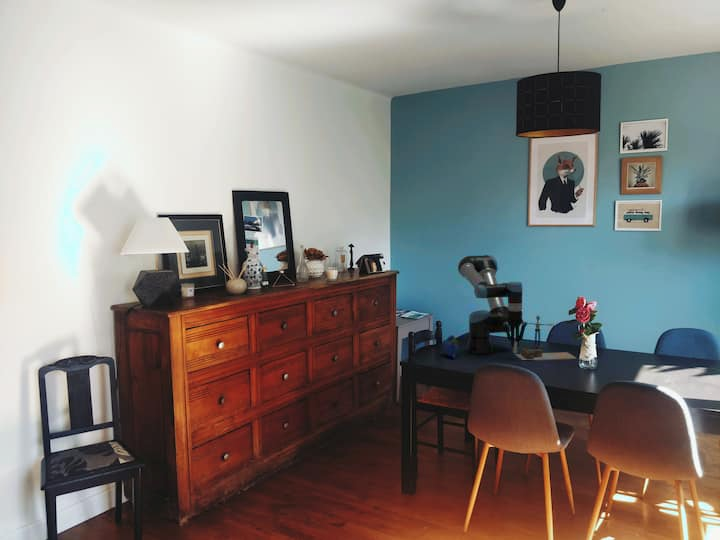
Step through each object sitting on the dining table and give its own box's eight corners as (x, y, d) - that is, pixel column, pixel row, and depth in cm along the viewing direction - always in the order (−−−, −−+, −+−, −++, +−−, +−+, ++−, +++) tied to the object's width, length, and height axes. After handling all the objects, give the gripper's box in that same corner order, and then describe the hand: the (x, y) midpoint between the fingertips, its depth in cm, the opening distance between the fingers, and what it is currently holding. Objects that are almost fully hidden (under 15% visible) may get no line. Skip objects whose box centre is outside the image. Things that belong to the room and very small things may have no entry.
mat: (522, 361, 304) (522, 360, 304) (514, 355, 316) (514, 354, 316) (576, 358, 306) (576, 357, 305) (567, 353, 317) (567, 352, 317)
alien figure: (556, 348, 329) (557, 315, 327) (555, 350, 325) (555, 317, 323) (521, 344, 339) (521, 313, 337) (519, 347, 334) (520, 314, 332)
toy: (458, 353, 324) (461, 359, 310) (441, 354, 325) (443, 360, 310) (457, 334, 324) (459, 339, 309) (440, 335, 324) (441, 340, 310)
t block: (527, 359, 305) (527, 352, 305) (520, 354, 315) (521, 348, 315) (544, 358, 306) (544, 352, 305) (537, 353, 315) (537, 347, 315)
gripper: (505, 311, 303) (505, 354, 305) (529, 311, 303) (529, 354, 306) (501, 309, 310) (501, 351, 313) (524, 308, 311) (524, 350, 313)
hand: (514, 352), depth 309 cm, fingers closed
